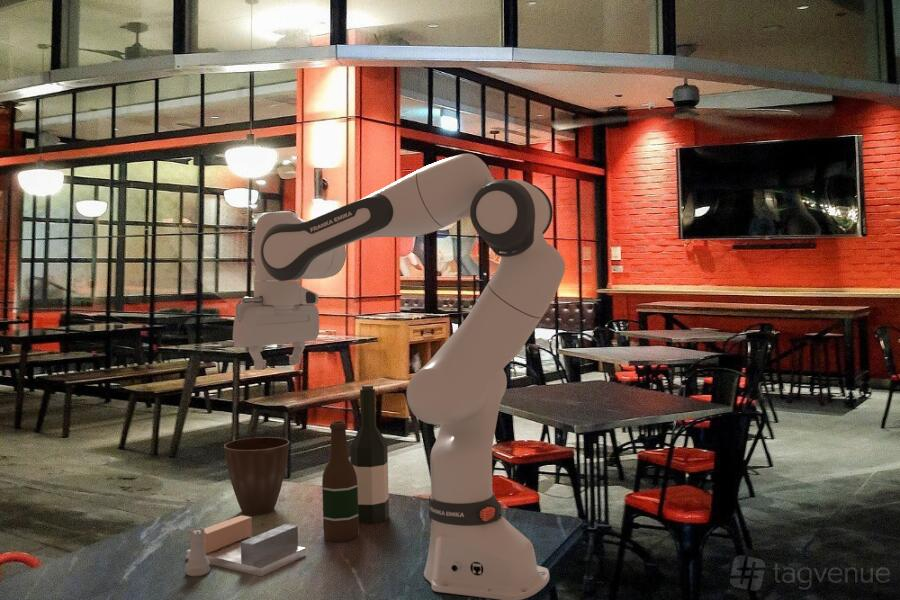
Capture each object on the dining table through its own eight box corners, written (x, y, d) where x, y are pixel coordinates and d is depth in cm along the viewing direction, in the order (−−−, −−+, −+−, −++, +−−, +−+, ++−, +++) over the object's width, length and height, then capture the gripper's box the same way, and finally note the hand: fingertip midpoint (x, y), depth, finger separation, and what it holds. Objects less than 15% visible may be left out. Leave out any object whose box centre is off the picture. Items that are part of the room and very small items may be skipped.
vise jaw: (252, 535, 154) (251, 517, 154) (205, 553, 143) (205, 534, 143) (241, 533, 155) (241, 515, 155) (194, 551, 145) (194, 532, 145)
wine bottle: (396, 515, 170) (393, 384, 170) (373, 525, 163) (370, 388, 163) (367, 510, 175) (364, 382, 174) (344, 520, 168) (341, 386, 167)
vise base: (306, 555, 146) (305, 527, 146) (261, 576, 136) (260, 546, 136) (233, 539, 156) (232, 513, 156) (186, 558, 146) (185, 530, 146)
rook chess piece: (196, 579, 136) (195, 535, 135) (180, 574, 138) (178, 531, 138) (216, 570, 139) (214, 527, 139) (199, 566, 142) (198, 524, 142)
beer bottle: (352, 543, 152) (349, 426, 152) (316, 541, 154) (313, 425, 154) (364, 531, 160) (361, 419, 160) (330, 529, 162) (327, 418, 161)
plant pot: (289, 499, 186) (287, 434, 186) (293, 516, 172) (291, 446, 172) (226, 505, 182) (224, 439, 182) (225, 523, 168) (223, 452, 168)
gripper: (248, 297, 135) (249, 373, 135) (324, 295, 152) (324, 363, 153) (224, 296, 138) (225, 371, 138) (301, 294, 156) (301, 361, 156)
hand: (278, 367), depth 146 cm, fingers open, 8 cm apart
